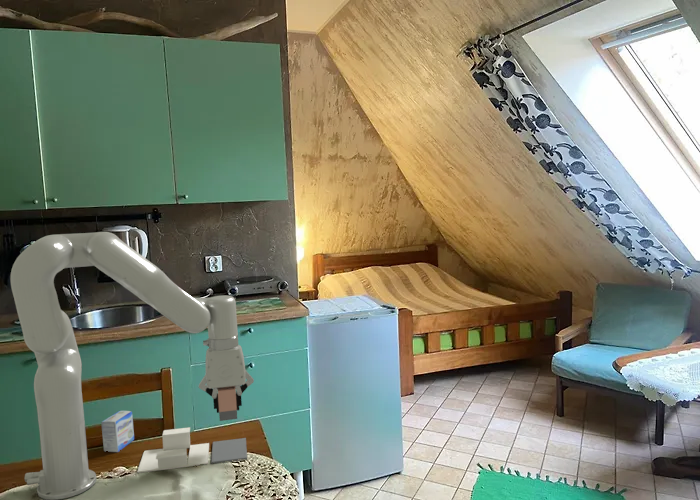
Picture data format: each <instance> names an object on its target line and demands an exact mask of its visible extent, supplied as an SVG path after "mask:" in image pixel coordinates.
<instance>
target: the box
mask: <svg viewBox="0 0 700 500" xmlns="http://www.w3.org/2000/svg"><path fill="white" fill-rule="evenodd" d="M217 393H218V403H219V413H218V415H219V416H218V417H219V421H220V422H222V421H223V422H224V421H231V420H238V411H237V405H236V388H235V386H234V387H225V388H218V392H217Z"/></svg>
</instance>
